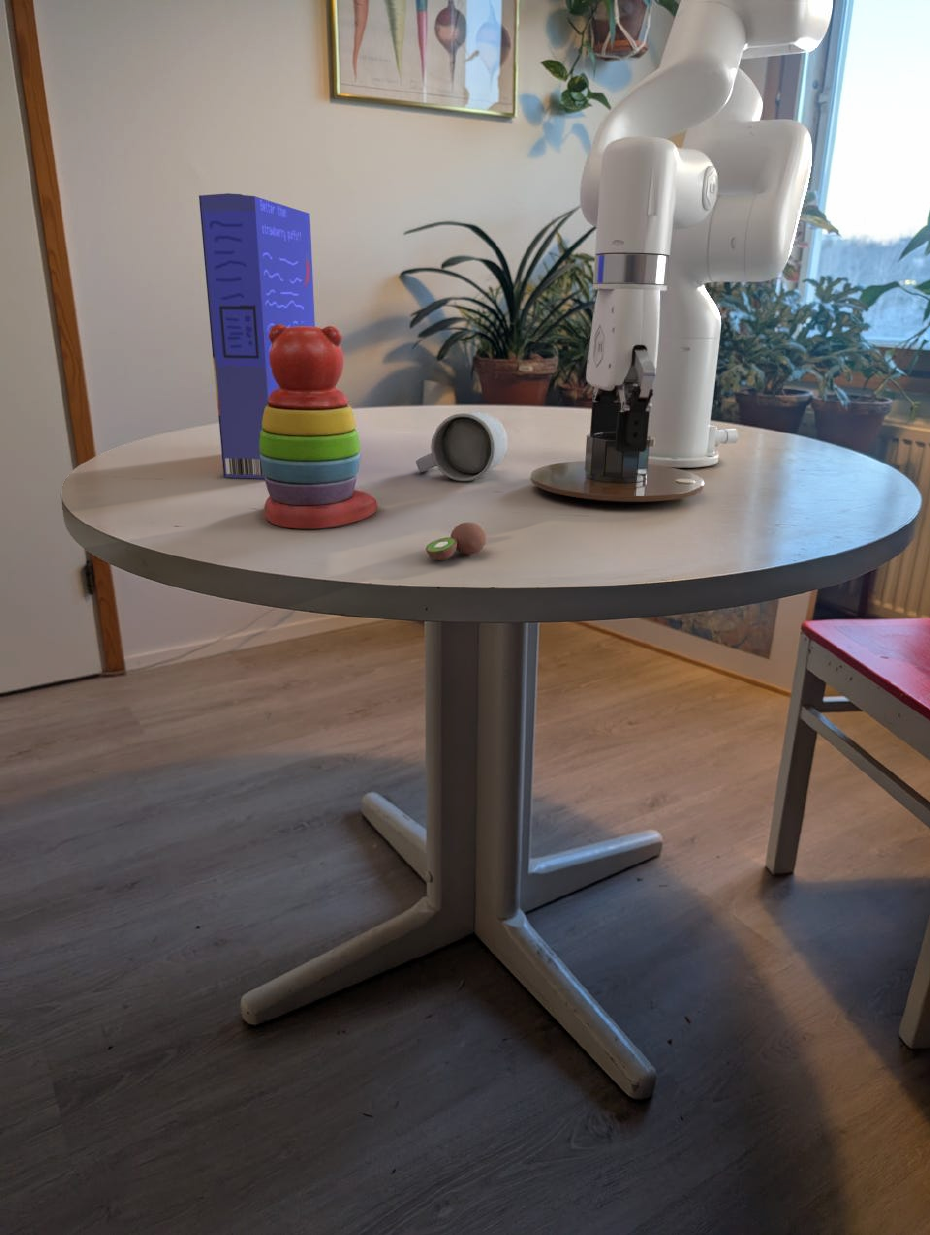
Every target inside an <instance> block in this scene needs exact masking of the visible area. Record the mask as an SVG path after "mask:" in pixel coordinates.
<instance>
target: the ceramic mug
mask: <svg viewBox="0 0 930 1235" xmlns="http://www.w3.org/2000/svg"><path fill="white" fill-rule="evenodd" d="M430 448H431V452H430V453H428V454H426V455H424V456H422V457H420V458H419V459H417V460H416V461H415V464H416V467H417V469H418V472H419V473H424V472H426V471H429V470H430V469H434V468H435V467H437V468H438V470H439V472H441V473H442V474H443V475H444V476H446V477H447V478H449V479H452V480H454V481H457V482H471V481H472V482H473V481H474V480H477V479H479V478H481V477H482V476H483V475H485V474H486V473H488V472H490V471H491V470H493V469H494V468H496V467H497V466H498V465H499V464H500V463H501V461H502V460H503V458H504V456H505V455H506V452H507V450H508V449H507V448H508V435H507V431H506V430H505V427H504V426H503V424H502V422H500V421H499V420H498V419H497V418H496V417H495V416H493V415H491V414H489V413H487V412H482V411H471V412H464V413H455V414H453V415H450V416H448V417H446V418H445V419H444V420H443V421H442V422H440V423H439V424H438V426H437V427H436V429H435V431H434V434H433V435H432V438H431V447H430Z"/></svg>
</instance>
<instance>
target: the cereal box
mask: <svg viewBox="0 0 930 1235" xmlns="http://www.w3.org/2000/svg"><path fill="white" fill-rule="evenodd" d="M198 200H199V214H200V225H201V237H202V246H203V247H202V248H203V260H204V269H205V280H206V292H207V304H208V315H209V316H208V317H209V327H210V336H211V337H210V338H211V349H212V361H213V370H214V371H213V372H214V373H213V374H214V382H215V395H216V404H217V405H216V406H217V416H218V427H219V428H218V430H219V437H220V438H219V439H220V451H221V462H222V472H223V478H232V479H262V480H263V479H264V480H265V475H264V474H263V471H262V466H261V461H260V454H261V452H260V451H259V441H260V432H261V430H262V429H263V428H262V420H263V414H264V410H265V407H266V406H267V405H268V402H267V400H268V398H269V396H270V395H271V393H272V392H273V391H275V390H276V389H279V385H278V383H277V382H276V380H275V378H274V376H273V373H272V370H271V366H270V349H271V346H272V343H271V341H270V339H269V332H270V330H271V328H272V327H273V326H275V325H278V324H281V325H284V326H286V327H287V328H291V327H296V326H312V327H316V323H315V322H316V320H315V303H314V302H315V301H314V300H315V299H314V298H315V297H314V280H313V279H314V278H313V277H314V276H313V259H312V257H313V256H312V238H311V237H312V236H311V218H310V217H311V216H310V213H308V212H305V211H302V210H299V209H297V208H292V207H290V206H287V205H283V204H281V203H278V202H274V201H271V200H268V199H264V198H261V197H259V196H256V195H247V194H241V193H214V194H213V193H212V194H203V195H202V194H201V195H198Z"/></svg>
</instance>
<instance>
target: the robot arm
mask: <svg viewBox="0 0 930 1235" xmlns="http://www.w3.org/2000/svg"><path fill="white" fill-rule="evenodd" d="M833 3H834V0H680V2H679V5H678V7H677V11H676V14H675V17H674V20H673V23H672V26H671V29H670V31H669V32H670V33H669V35H668V38H667V42H666V45H665V47H664V50H663V54H662V57H661V60H660V63H659V66H658V68H657V69H656V70H654V71H652V72H651V73H650V74H648V75H647V76H646V77H645V78H643V79H642V80H641V81H639V82H638V83H637V84H636V85H635V86H634V87H633V88H632V89H630V91H628V92H627V93H626V94H625V95H624V96H623V97H621V99H619V100H618V101H617V102H616V103H615V104H614V105H613V106H612V107H611V108H610V109H609V111H608V112H607V113H606V114H605V116H604V117H603V119H602V120H601V122H600V123H599V125H598V127H597V129H596V132H595V134H594V136H593V139H592V142H591V147H590V149H589V151H588V153H587V154H588V155H587V156H586V160H585V164H584V167H583V172H582V175H581V176H582V177H581V181H580V188H579V202H580V204H579V205H580V208H581V212H582V215H583V217H584V218H585V220H586V221H587V223H589V225H591V226H593V227H595V228H596V236H595V247H594V248H595V249H594V261H593V262H594V264H593V276H592V277H593V278H592V290H593V291H597V293H596V297H595V302H594V307H593V314H592V321H591V327H590V328H591V329H590V337H589V346H588V355H587V363H586V374H585V375H586V376H585V378H586V382H587V384H588V385H590V386H591V387H593V391H592V397H591V398H592V402H591V413H590V425H589V426H590V428H589V433H594V432H601V431H616V441H615V449H616V450H617V451H619V452H644V451H645V450H646V447H647V436H651V438H655V445H654V446H653V447H651V446H650V457H649V464H653V465H660V466H666V467H671V468H676V469H691V468H694V469H695V468H703V467H710V466H714V465H716V464H717V463H718V462H719V457H720V454H719V452H718V451H716V450H715V448H716V447H717V446H719V444H722V445H729V444H736V443H737V442H738V441H739V437H740V435H739V431H738V430H737V429H736V428H727V429H725V428H724V429H721V430H720V429H718V428H717V425H712V424H711V420H712V410H713V402H714V393H715V392H714V391H715V383H716V374H717V366H718V357H719V348H720V340H721V330H722V322H721V321H722V320H721V315H720V312H719V309H718V307H717V306H716V304H715V302H714V301H713V299H712V298H711V295H710V294H709V292H708V291H707V289H706V287H705V284H707V283H708V284H709V283H717V282H718V283H758V282H761V283H762V282H768V281H771V280H773V279H775V278H777V277H778V276H779V275H780V274H781V273H782V272H783V271H784V270H785V268H786V265H787V263H788V261H789V258H790V255H791V252H792V249H793V244H794V241H795V237H796V233H797V228H798V225H799V221H800V216H801V212H802V209H803V205H804V200H805V196H806V193H807V188H808V183H809V178H810V174H811V167H812V159H813V158H812V157H813V148H812V147H813V146H812V145H813V144H812V139H811V135H810V132H809V130H808V129H807V127H806V126H805V125H804V124H803V123H801V122H800V121H797V120H794V119H788V118H787V119H786V118H785V119H782V118H779V119H763V120H761V117H762V114H763V113H762V112H763V100H762V96H761V94H760V91H759V89H758V88H757V87H756V85H755V83H754V82H753V80H751V78H750V77H749V75H747V73H745V71H744V70H742V69H741V68H740V64H741V61H742V60H748V59H759V58H767V57H776V56H777V57H778V56H787V55H796V54H804V53H810V52H812V51H813V50H815V48H817V47H818V46H819V45H820V44H821V42H822V41H823V39H824V37H825V36H826V34H827V32H828V29H829V26H830V23H831V19H832V14H833V5H834V4H833ZM683 132H685V136H684V139H683V142H682V146H681V147H677V146H676V144H675V143H674V142H673V141H672V140H670V139H668V138H671V137H674V136H677V135H679V134H682V133H683ZM619 400H620V401H619Z"/></svg>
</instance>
